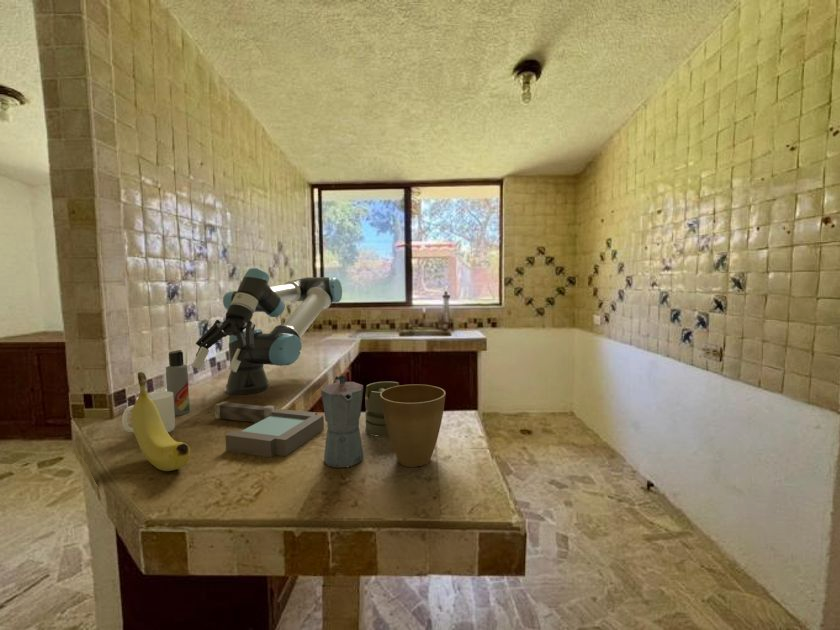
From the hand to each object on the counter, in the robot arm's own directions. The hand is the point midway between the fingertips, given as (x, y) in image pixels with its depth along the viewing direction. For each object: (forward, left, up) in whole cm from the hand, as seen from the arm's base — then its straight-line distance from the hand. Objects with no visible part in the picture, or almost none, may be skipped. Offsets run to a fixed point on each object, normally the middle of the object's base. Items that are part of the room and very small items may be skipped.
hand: (213, 369), depth 111 cm
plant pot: (+9, +66, -16) cm, 68 cm away
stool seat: (+7, +28, -15) cm, 33 cm away
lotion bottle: (-1, -15, -16) cm, 22 cm away
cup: (+14, -8, -16) cm, 23 cm away
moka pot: (+13, +50, -16) cm, 54 cm away
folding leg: (-1, +10, -15) cm, 18 cm away
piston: (-7, +53, -16) cm, 55 cm away
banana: (+27, +12, -16) cm, 33 cm away
